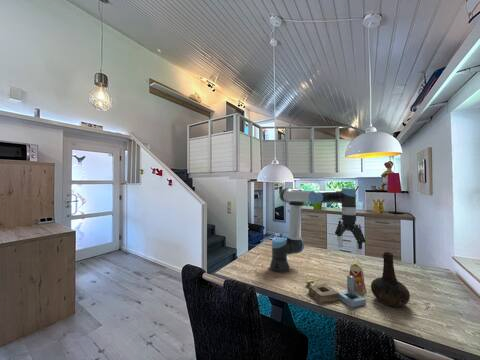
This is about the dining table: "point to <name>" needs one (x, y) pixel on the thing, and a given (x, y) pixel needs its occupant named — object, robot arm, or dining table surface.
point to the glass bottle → (390, 285)
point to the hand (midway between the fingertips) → (349, 250)
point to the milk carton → (358, 276)
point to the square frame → (352, 302)
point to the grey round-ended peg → (351, 286)
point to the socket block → (323, 293)
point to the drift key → (310, 283)
